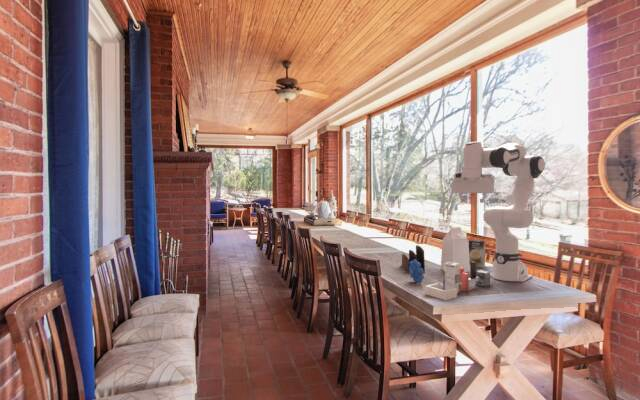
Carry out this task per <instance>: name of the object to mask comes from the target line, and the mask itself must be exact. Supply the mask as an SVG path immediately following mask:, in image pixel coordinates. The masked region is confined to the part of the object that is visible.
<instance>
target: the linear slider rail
mask: <svg viewBox="0 0 640 400" xmlns="http://www.w3.org/2000/svg"><path fill="white" fill-rule="evenodd" d="M459 271H460V272H459V291H464V292H469V288H470V287H469V286H470V285H469V284H472V283H475V282H476V281H480V280H483V275H481V276H476V271H477V267H476V262H470V272H464V269H463V268H460V269H459ZM490 279H492V276H491V273H490Z"/></svg>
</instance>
